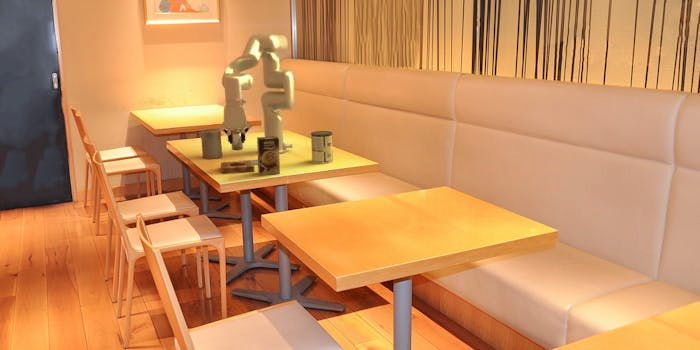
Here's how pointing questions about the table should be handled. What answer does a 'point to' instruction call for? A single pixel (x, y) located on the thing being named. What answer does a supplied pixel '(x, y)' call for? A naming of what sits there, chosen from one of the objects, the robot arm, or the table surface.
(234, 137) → the end cap
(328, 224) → the table surface
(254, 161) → the rubber mat
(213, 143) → the pillar candle
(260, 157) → the coffee box
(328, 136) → the coffee can
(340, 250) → the table surface
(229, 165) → the brown wooden square frame
